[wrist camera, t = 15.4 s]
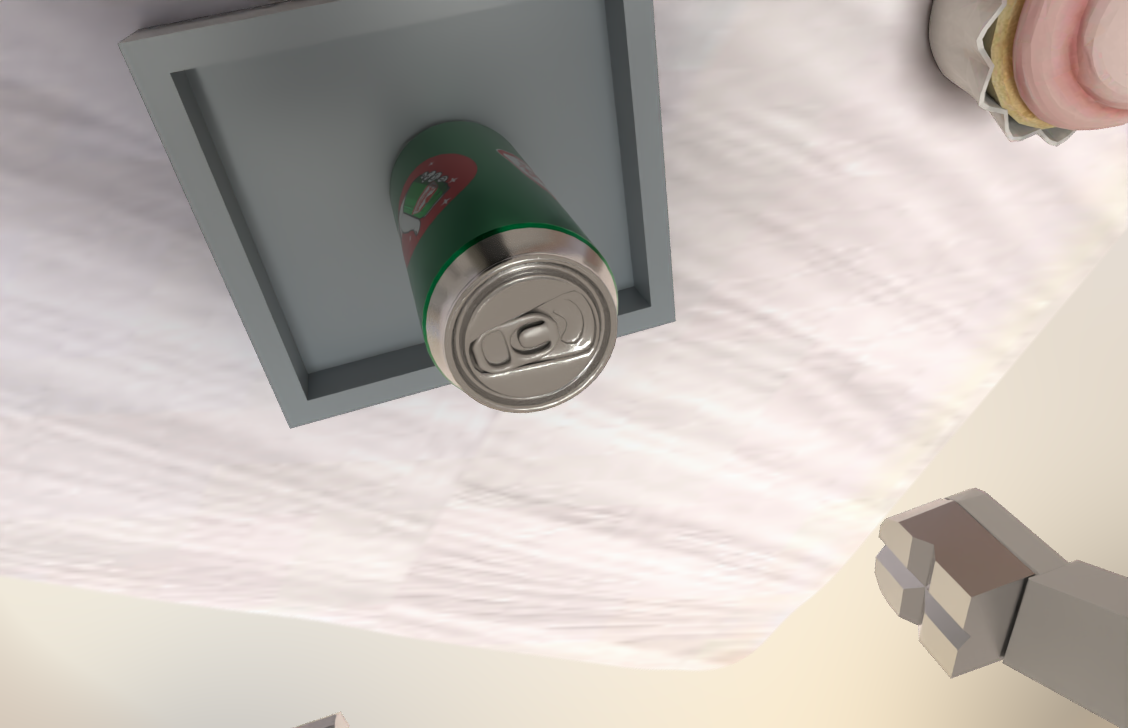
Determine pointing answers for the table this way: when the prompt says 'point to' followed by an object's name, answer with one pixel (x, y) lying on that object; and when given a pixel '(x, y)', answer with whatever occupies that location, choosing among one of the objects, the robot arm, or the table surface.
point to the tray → (370, 149)
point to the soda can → (499, 272)
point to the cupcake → (1037, 62)
